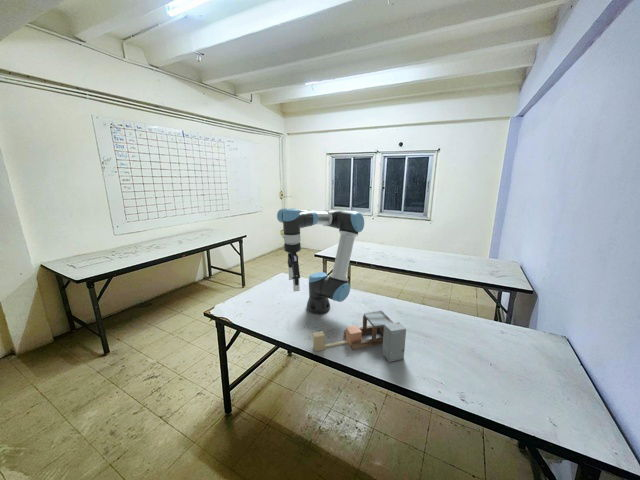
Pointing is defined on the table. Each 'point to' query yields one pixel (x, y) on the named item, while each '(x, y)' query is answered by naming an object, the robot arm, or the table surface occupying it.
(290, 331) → the table surface
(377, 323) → the shelf lane
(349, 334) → the tether block
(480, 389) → the table surface
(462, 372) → the table surface
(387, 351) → the skincare box
